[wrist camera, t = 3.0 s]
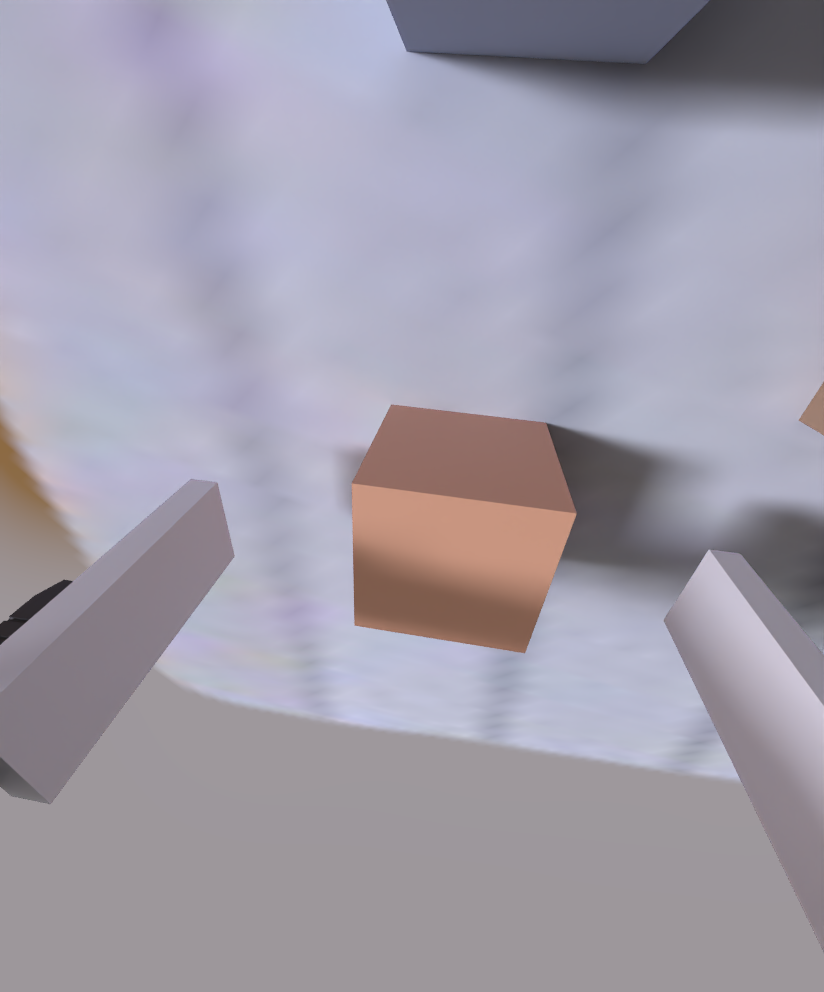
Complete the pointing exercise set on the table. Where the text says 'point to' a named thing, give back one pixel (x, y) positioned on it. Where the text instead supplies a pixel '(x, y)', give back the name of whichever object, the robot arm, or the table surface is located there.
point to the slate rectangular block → (543, 27)
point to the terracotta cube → (458, 527)
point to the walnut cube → (815, 412)
